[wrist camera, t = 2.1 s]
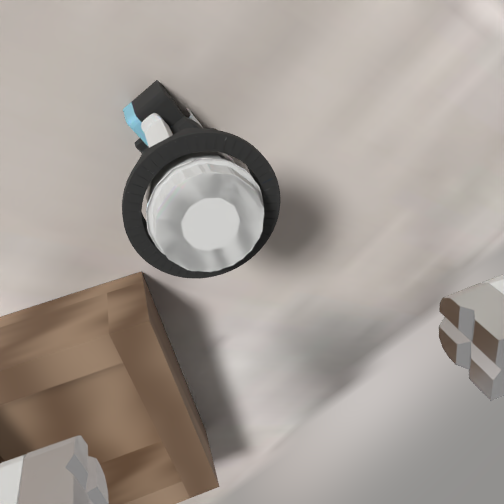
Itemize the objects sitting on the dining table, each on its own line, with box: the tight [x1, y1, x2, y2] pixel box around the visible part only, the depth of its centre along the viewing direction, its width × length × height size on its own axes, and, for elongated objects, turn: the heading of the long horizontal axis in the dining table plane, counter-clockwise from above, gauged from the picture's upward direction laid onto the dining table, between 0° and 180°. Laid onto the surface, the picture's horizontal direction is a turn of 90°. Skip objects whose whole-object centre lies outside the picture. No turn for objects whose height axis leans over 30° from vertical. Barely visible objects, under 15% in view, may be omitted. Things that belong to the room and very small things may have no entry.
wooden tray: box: [0, 272, 219, 504], centre depth 28 cm, size 14×15×4 cm
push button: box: [122, 80, 280, 278], centre depth 19 cm, size 7×5×10 cm
